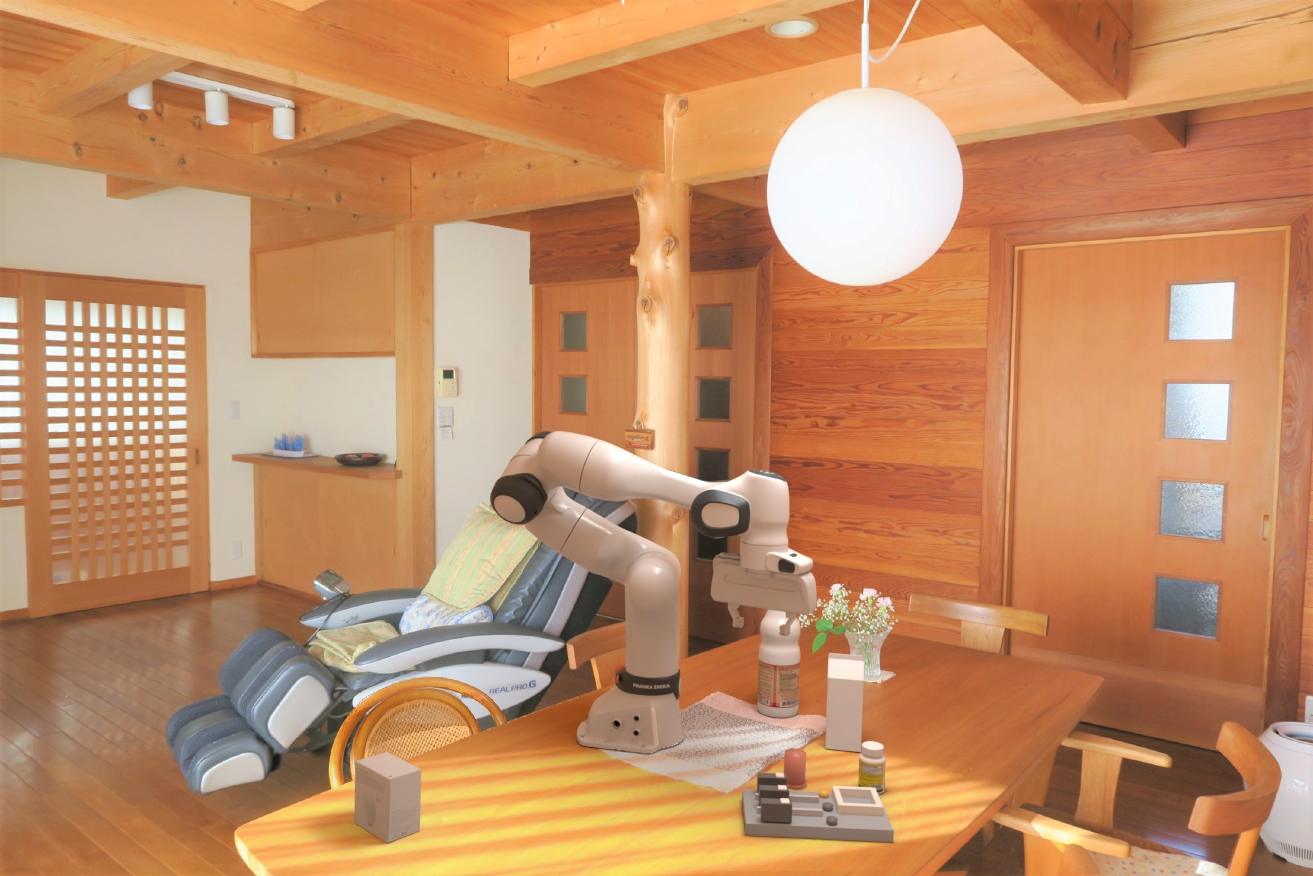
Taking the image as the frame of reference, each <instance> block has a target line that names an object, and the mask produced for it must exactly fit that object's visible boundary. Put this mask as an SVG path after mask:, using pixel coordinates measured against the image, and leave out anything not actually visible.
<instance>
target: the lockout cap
mask: <svg viewBox="0 0 1313 876" xmlns="http://www.w3.org/2000/svg"><path fill="white" fill-rule="evenodd" d="M783 755H784V756H783V773H784V774H786V778H787V785H786V786H788V787H789V790H793V791H800V790H803V789H806V788H807V786H808V780H807V778H806V772H807V752H806V751H805V750H803V749H800V748H792V747H791V748H787V749H785V750H784V754H783Z"/></svg>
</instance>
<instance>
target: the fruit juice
mask: <svg viewBox="0 0 1313 876" xmlns="http://www.w3.org/2000/svg"><path fill="white" fill-rule="evenodd" d="M788 619H789V618H786V612H782V611H776V610H769V609H766V613H765V615H764V617H763V618H762V620H761V622H760V627H759V631H760V635H761V636H760V637H761V642H760V645H759V647H758V661H757V662H758V665H757V666H758V668H757V670H758V671H757V672H758V673H757V675H758V676H757V697H756V699H757V700H756V705H757V711H758V712H759V713H760V714H761V715H763V716H767V717H770V718H775V717H776V718H778V719H784V718H785V719H788V718H793V717H794V716H796V715H798V713H799V707H800V683H801V682H800V679H801V648H800V644H799V639H800V637H801V631H802V630H801V623H800V621H799V620H798V618H797V617H796V619H795V620H794V622H793V623H792V625H791V629H790V635H789V636H782V635H780V634H779V632H780V630H779V629H780V626H781V625H783V624H786V622H787V620H788Z"/></svg>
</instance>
